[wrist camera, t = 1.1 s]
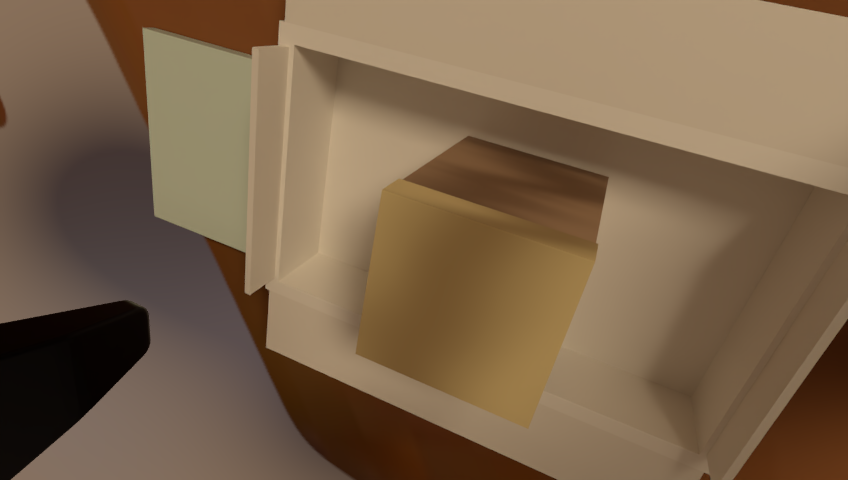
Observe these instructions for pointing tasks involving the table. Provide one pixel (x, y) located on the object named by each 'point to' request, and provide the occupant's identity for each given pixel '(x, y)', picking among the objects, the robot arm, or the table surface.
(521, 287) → the tea box
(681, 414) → the cream tray
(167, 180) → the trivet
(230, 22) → the table surface
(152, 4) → the table surface
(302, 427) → the table surface
